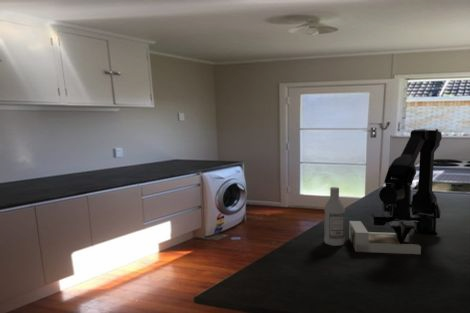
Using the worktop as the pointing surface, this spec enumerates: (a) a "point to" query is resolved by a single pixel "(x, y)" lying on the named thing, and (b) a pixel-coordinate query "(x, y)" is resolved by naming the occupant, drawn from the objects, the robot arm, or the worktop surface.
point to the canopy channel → (361, 243)
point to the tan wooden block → (383, 239)
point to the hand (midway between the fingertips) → (400, 244)
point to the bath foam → (334, 219)
